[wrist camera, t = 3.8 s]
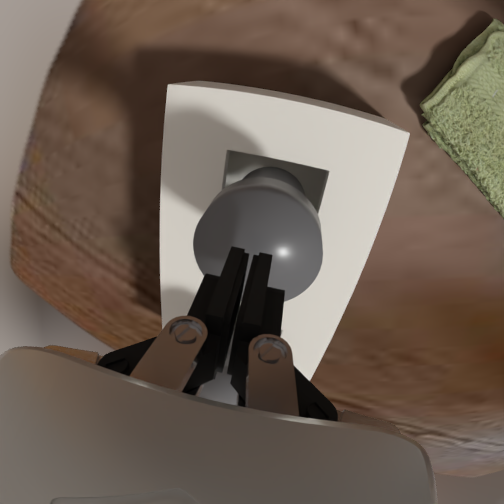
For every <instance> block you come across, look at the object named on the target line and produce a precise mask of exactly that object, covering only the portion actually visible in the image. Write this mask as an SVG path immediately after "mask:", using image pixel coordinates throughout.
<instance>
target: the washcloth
mask: <svg viewBox="0 0 504 504" xmlns="http://www.w3.org/2000/svg"><path fill="white" fill-rule="evenodd" d="M420 107H421V109H422V110H423V111H424V113H423V114H421V115H422V116H424V117H425V118H426V119H427V121H426V122H425V123H424V124H423V127H424V128H425V129H426V131H427V132H428V133H427V134H428V135H429V136H431V138H432V139H433V140H434V141H435V142H436V143H437V144H438V146H439V148H443V150H445V151H446V152H447V153H448V154H449V155H450V157H451V159H452V160H453V161H455V163H457V164H458V165H459V166H460V167H461V169H462V170H464V171H465V174H468V176H469V178H470V179H471V180H472V182H474V183H475V185H476V186H477V188H478V189H479V190H481V191H482V192H483V194H484V195H485V196H486V199H487V200H488V201H490V203H491V204H492V205H493V206H494V209H495V210H496V211H498V212H500V215H501V216H502V217H503V219H504V24H502V23H501V22H500V21H499V20H497V19H493V20H492V23H491V24H490V25H489V26H488V27H487V28H486V29H485V31H483V33H481V34H480V35H479V36H478V37H476V39H474V40H473V41H472V42H471V43H470V44H469V45H468V46H467V47H466V48H465V49H464V50H463V51H462V52H461V54H460V55H459V57H458V58H457V60H456V62H455V63H454V66H453V68H452V69H451V70H450V71H449V72H448V73H447V75H446V76H445V77H444V78H443V80H442V81H441V82H440V83H439V84H438V86H437V87H436V88H435V89H434V90H433V92H432V93H431V94H430V95H429V96H427V97H426V98H425V99H424V100H423V101H422V102H421V103H420Z"/></svg>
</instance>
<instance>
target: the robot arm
mask: <svg viewBox="0 0 504 504" xmlns="http://www.w3.org/2000/svg"><path fill="white" fill-rule="evenodd" d="M272 256H273V255H271V254H267V253H262V252H259V255H253V259H252V262H251V266H250V270H249V274H248V278H247V281H246V285H245V289H244V293H243V297H242V292H243V287H244V281H245V276H246V270H247V265H248V259H249V253H245V249H243V248H238V247H234V246H232V247H231V249H230V251H229V254H228V257H227V259H226V262H225V264H224V267H223V270H222V272H221V275H220V276H216V275H212V274H207V273H206V274H205V276H204V278H203V280H202V282H201V284H200V287H199V289H198V291H197V293H196V296H195V298H194V300H193V303H192V305H191V307H190V309H189V312H188V314H187V316H179V317H175V318H173V319H171V320H170V321H169V322H168V323H167V324H166V325H165V327H164V328H163V329H162V331H161V332H160V334H159V335H158V336H157V337H154V338H151V339H148V340H146V341H143V342H140V343H137V344H134V345H131V346H128V347H125V348H122V349H119V350H116V351H113V352H110V353H108V354H106V355H104V356H100V355H99V353H98V352H92V351H85V350H79V349H73V348H67V347H61V346H56V345H49V346H46V347H44V348H41V347H28V346H23V347H15V348H12V349H9V350H7V351H5V352H4V353H3V354H1V355H0V504H438V503H437V492H436V484H435V478H434V473H433V469H432V465H431V461H430V458H429V456H428V454H427V452H426V451H425V449H424V448H423V447H422V446H421V445H420V444H419V443H417V442H416V441H415V440H413V439H411V438H409V437H407V436H405V435H403V434H401V433H400V430H399V429H398V428H397V427H396V426H395V425H393V424H391V423H389V422H385V421H382V420H378V419H375V418H371V417H368V416H364V415H361V414H358V413H354V412H351V411H348V410H345V409H344V410H343V412H342V411H339V410H336V408H335V407H334V406H333V404H332V403H331V402H330V401H329V400H328V399H327V398H326V397H325V396H324V395H323V394H322V393H321V392H320V391H319V390H318V389H317V388H316V387H315V386H314V385H313V384H312V383H311V382H310V381H309V380H308V379H307V378H306V377H305V376H304V375H303V374H302V373H301V372H300V371H299V370H298V369H297V368H296V367H295V366H294V363H293V355H292V350H291V347H290V345H289V344H288V343H287V341H285V340H284V339H283V338H281V337H280V335H281V326H282V317H283V307H284V297H285V290H281V289H277V288H272V287H267V286H268V280H269V274H270V268H271V262H272ZM241 298H242V300H241ZM240 303H241V304H240ZM235 323H236V325H235ZM234 327H235V330H234ZM233 331H234V336H233V341H232V347H231V353H230V358H229V364H228V370H227V374H229V375H232V377H231V382H230V384H231V385H232V387H233V388H234V389H235V390H236V392H237V393H238V394H237V405H231V404H227V403H222V402H218V401H214V400H210V399H205V398H201V397H198V396H199V395H200V393H201V391H202V388H203V384H205V383H207V382H209V381H211V380H213V379H215V378H216V374H217V372H220V373H222V372H223V369H224V365H225V361H226V358H227V354H228V350H229V346H230V342H231V339H232V335H233Z"/></svg>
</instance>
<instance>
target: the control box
mask: <svg viewBox="0 0 504 504" xmlns="http://www.w3.org/2000/svg"><path fill="white" fill-rule="evenodd" d="M409 135H410V133H409V132H407V131H405V130H404V129H402V128H401V127H399V126H397V125H395V124H394V123H392V122H390V121H389V120H387V119H385V118H382V117H379V116H376V115H372V114H369V113H366V112H362V111H359V110H355V109H352V108H348V107H345V106H341V105H337V104H333V103H329V102H325V101H321V100H316V99H312V98H308V97H303V96H298V95H293V94H289V93H283V92H278V91H273V90H267V89H261V88H255V87H248V86H241V85H234V84H226V83H218V82H208V81H191V82H182V83H174V84H168V88H167V98H166V108H165V120H164V133H163V148H162V166H161V190H160V286H161V311H162V329H163V328H164V327H165V325H166V324H167V323H168V322H169V321H170V320H171V319H173V318H175V317H179V316H187V314H188V312H189V309H190V307H191V305H192V303H193V300H194V298H195V296H196V293H197V291H198V289H199V287H200V284H201V282H202V280H203V278H204V275H203V274H202V272H201V271H200V269H199V267H198V265H197V263H196V259H195V256H194V251H193V238H194V232H195V229H196V226H197V224H198V222H199V220H200V219H201V217H202V216H203V214H204V213H205V211H206V210H207V208H208V207H209V205H210V204H211V202H212V201H213V199H214V198H215V197H216V195H217V194H218V193H219V192H220V191H222V190H223V189H224V188H225V187H227V186H229V185H230V184H232V183H234V182H237V181H239V180H242V179H243V178H244V177H245V176H246V175H247V174H248V173H250V172H251V171H253V170H255V169H258V168H262V167H278V168H281V169H284V170H286V171H288V172H290V173H291V174H292V175H294V176H295V177H296V178H297V179H298V181H299V182H300V183H301V185H302V187H303V189H304V192H305V196H306V197H307V198H308V199H309V201H310V202H311V203H312V205H313V206H314V208H315V210H316V212H317V214H318V217H319V220H320V224H321V233H322V245H323V260H322V265H321V269H320V271H319V273H318V276H317V277H316V279H315V280H314V282H313V283H312V284H311V285H310V287H309V288H307V289H306V290H305V291H304V292H303V293H301V294H300V295H298V296H297V297H295V298H293V299H290V300H288V301H285V302H284V307H283V317H282V326H281V335H280V337H281V338H283V339H284V340H285V341H287V343H288V344H289V345H290V347H291V350H292V355H293V363H294V366H295V367H296V368H297V369H298V370H299V371H300V372H301V373H302V374H303V375H304V376H305V377H306V378H307V379H308V380H309V381H310V379H311V378H312V376H313V374H314V372H315V370H316V368H317V366H318V364H319V362H320V360H321V358H322V356H323V354H324V352H325V351H326V349H327V346H328V344H329V342H330V340H331V338H332V336H333V334H334V332H335V330H336V328H337V326H338V324H339V322H340V320H341V317H342V315H343V313H344V311H345V309H346V306H347V304H348V302H349V300H350V298H351V295H352V293H353V291H354V288H355V286H356V284H357V282H358V279H359V277H360V274H361V272H362V270H363V267H364V265H365V262H366V260H367V257H368V255H369V253H370V250H371V247H372V245H373V242H374V240H375V237H376V235H377V232H378V229H379V227H380V224H381V221H382V219H383V216H384V213H385V210H386V207H387V205H388V202H389V199H390V196H391V193H392V190H393V187H394V184H395V181H396V178H397V175H398V172H399V169H400V166H401V162H402V159H403V156H404V152H405V149H406V146H407V142H408V139H409ZM240 304H241V303H240Z"/></svg>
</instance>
